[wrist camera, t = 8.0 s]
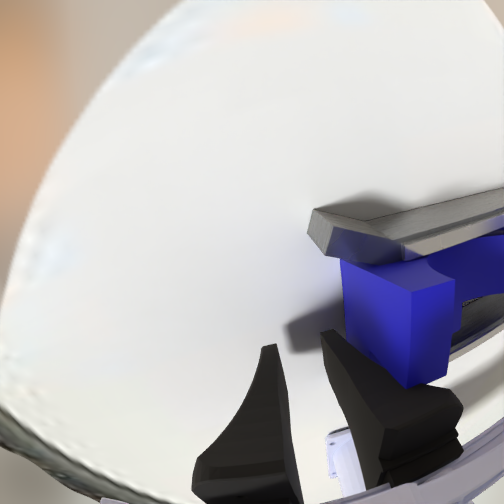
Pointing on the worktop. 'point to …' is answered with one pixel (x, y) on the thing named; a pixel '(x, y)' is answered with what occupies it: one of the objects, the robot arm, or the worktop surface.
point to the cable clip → (418, 305)
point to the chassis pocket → (422, 249)
